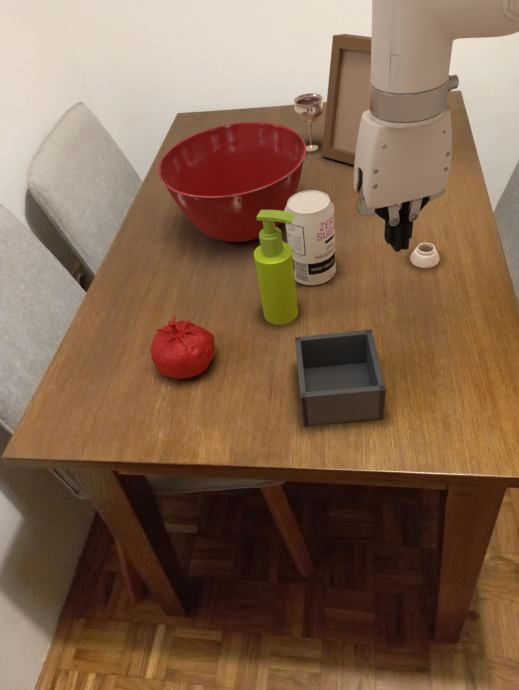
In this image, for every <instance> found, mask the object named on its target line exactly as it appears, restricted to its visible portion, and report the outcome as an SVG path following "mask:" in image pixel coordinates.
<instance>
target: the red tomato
mask: <svg viewBox="0 0 519 690" xmlns="http://www.w3.org/2000/svg"><path fill="white" fill-rule="evenodd" d="M196 318H197V317H193V318H190V319H188V320H177V321H176V319H177V317H176V315H173V317H172V320H168V322H167V324H168V325H164V326H162V327H161V328H157V329H156V328H155V329H154V331H156V333H155V335H154V337H153V339H152V342H151V345H150V356H151V361H152V363H153V365H154V366H155V368H156V369H157V371H158V372H159V373H160V374H161V375H162V376H164V377H167V378H172V379H175V380H185V379H189V378H194V377H196V376H199V375H201V374H202V373H204V372H205V371H206V370H207V369H208V368H209V366H210V364H211V362H212V360H213V358H214V356H215V353H216V351H215V349H216V348H215V346H216V345H215V335H214V334H213V333H212V332H210V331H209V330H206V329H205V328H204V327H203V326H200V325H196V324H195V323H193V322H192V320H194V319H196Z"/></svg>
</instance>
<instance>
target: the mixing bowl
mask: <svg viewBox="0 0 519 690" xmlns="http://www.w3.org/2000/svg"><path fill="white" fill-rule="evenodd" d="M306 146H307V145H306V142H305V140H304V138H303V137H302V135H300V133H298V132H297V131H296V130H294V129H292V128H290V127H288V126H286V125H282V124H279V123H274V122H267V121H242V122H241V121H240V122H233V123H228V124H223V125H218V126H215V127H214V126H213V127H211V128H207V129H204V130H201V131H199V132H197V133H194V134H192V135H190V136H188V137H186V138H184V139H182V140H181V141H179V142H178V143H176V144H174V145H173V146H172V147H171V148H170V149H169V150H168V151H166V153H165V154H164V155H163V157H162V158H161V160H160V162H159V164H158V168H157V174H158V178H159V180H160V182H161V183H162V184H163V185H164V186H165V188H166V189H167V191H168V193H169V195H170V196H171V197H172V199H173V201H174V203H176V205H177V206H178V207H179V209H180V210H181V211H182V213H183V214H184V215H185V217H187V219H188V220H189V221H190V222H191V223H192V224H193V225H194V226H195V227H196V228H197V229H199V230H200V231H201V232H202V233H203V234H204V235H206V236H208V237H210V238H212V239H214V240H217V241H220V242H221V241H222V242H227V243H243V242H249V241H253V240H258V239H259V232H260V231H261V230H262V229H264V228H263V221H260V220H257V218H256V217H257V215H258V214H259V212H260V211H261V210H279V211H284V210H285V208H286V205H287V201H288V200H289V198H290V197H291V196H293V195H294V194H296V193H297V191H298V188H299V184H300V180H301V177H302V176H301V175H302V171H303V165H304V161H305V160H304V159H305V158H306V155H307V151H306ZM274 223H275V227H277V228H278V227H279V225H281V223H282V222H277V221H274Z"/></svg>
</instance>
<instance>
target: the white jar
mask: <svg viewBox="0 0 519 690" xmlns="http://www.w3.org/2000/svg"><path fill="white" fill-rule="evenodd" d="M440 260H441V257H440V254H439V252H438V250H437V249H436V246H435V245H434V244H433V243H430V242H421V243H418V245H417V246H416V247H415V248H414V250H413V251H412V252H411V254H410V256H409V262H411V264H412V265H413V266H415V267H418V268H422V269H430V268H434V267H436V266H437V265H438V264H439V262H440Z"/></svg>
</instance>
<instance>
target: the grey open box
mask: <svg viewBox="0 0 519 690" xmlns="http://www.w3.org/2000/svg"><path fill="white" fill-rule="evenodd" d="M294 342H295V354H296V364H297V376H298V387H299V397H300V406H301V413H302V414H301V415H302V423H303V424H302V425H303V427H304V428H307V427H316V426H329V425H339V424H340V425H341V424H351V423H352V424H353V423H361V422H362V423H363V422H372V421H383V420H384V419H385V405H386V391H387V388H386V385H385V380H384V377H383V372H382V368H381V363H380V360H379V356H378V351H377V346H376V343H375V339H374V334H373V330H372V329H365V330H362V329H361V330H353V331H344V332H335V333H334V332H333V333H324V334H323V333H322V334H315V335H307V336H305V335H304V336H296V337H294Z"/></svg>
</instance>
